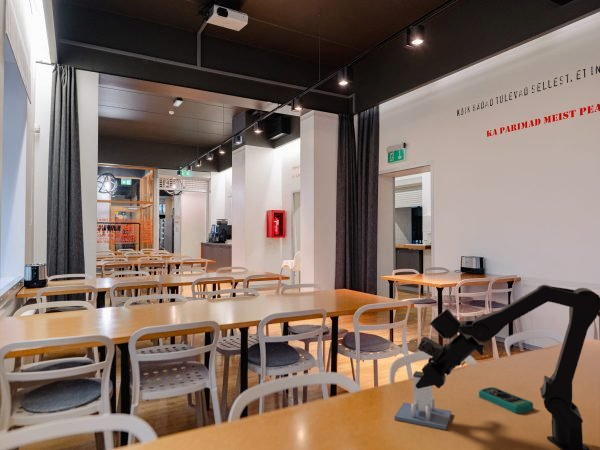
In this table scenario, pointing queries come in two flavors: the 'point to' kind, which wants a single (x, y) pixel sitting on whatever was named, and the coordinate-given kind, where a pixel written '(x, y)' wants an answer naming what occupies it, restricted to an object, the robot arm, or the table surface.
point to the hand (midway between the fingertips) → (417, 385)
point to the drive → (421, 394)
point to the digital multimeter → (506, 400)
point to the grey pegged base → (424, 416)
